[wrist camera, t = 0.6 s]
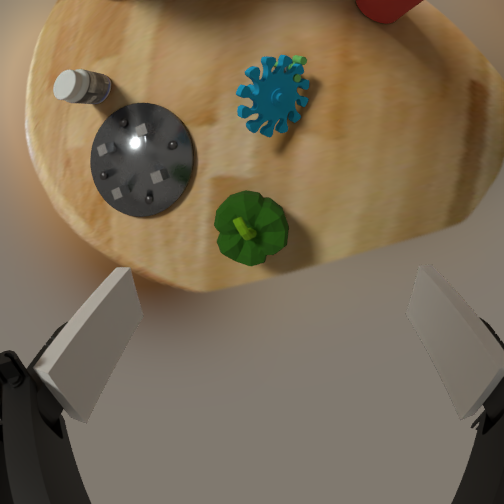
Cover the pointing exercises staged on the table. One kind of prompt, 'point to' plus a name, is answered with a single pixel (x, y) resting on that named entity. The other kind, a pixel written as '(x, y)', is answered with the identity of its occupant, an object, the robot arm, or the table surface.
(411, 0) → the beer can
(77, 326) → the robot arm
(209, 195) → the table surface
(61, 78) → the pill bottle
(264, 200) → the bell pepper
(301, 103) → the gear
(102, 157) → the hub
